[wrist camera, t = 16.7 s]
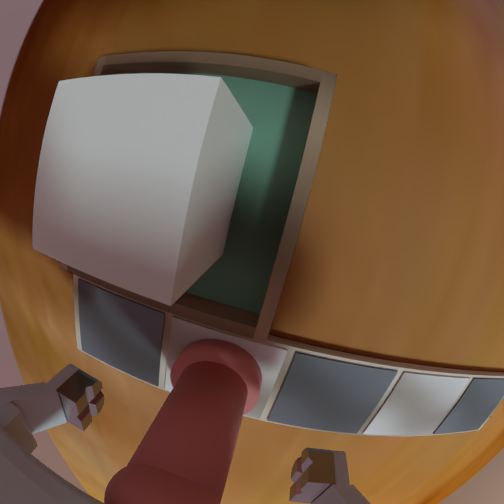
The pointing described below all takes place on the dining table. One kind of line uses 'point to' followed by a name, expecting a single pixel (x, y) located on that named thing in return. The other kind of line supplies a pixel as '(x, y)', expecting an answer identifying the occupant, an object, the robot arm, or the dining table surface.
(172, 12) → the dining table surface
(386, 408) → the track board
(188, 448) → the pawn
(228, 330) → the dice tray
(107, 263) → the die
